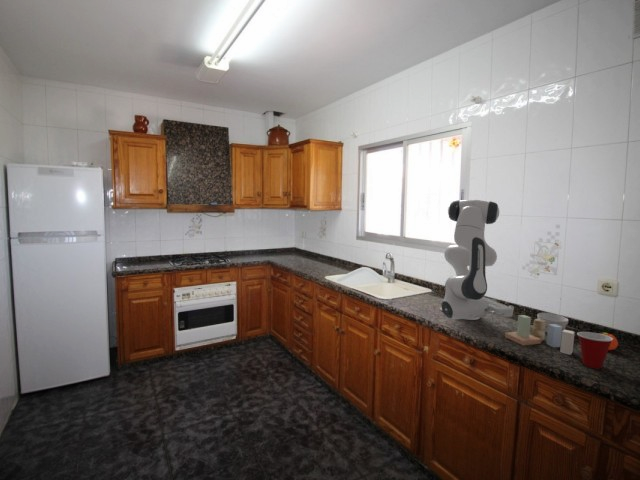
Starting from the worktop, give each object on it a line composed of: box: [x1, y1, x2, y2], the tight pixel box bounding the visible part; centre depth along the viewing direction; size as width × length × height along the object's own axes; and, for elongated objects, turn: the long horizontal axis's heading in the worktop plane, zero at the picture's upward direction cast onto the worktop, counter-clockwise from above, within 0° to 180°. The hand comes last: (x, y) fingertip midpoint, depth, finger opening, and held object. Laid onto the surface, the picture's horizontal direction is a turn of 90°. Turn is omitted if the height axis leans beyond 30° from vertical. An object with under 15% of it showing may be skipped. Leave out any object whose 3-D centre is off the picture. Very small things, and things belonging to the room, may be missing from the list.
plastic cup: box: [576, 331, 613, 370], centre depth 131 cm, size 11×11×12 cm
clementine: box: [598, 332, 619, 351], centre depth 147 cm, size 8×7×7 cm
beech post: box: [532, 318, 546, 342], centre depth 156 cm, size 4×4×9 cm
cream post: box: [559, 328, 575, 356], centre depth 142 cm, size 4×4×9 cm
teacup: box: [537, 312, 569, 334], centre depth 166 cm, size 15×12×8 cm
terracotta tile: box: [504, 331, 542, 346], centre depth 155 cm, size 10×10×2 cm
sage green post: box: [516, 314, 532, 338], centre depth 154 cm, size 4×4×9 cm
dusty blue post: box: [546, 324, 562, 348], centre depth 149 cm, size 4×4×9 cm
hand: (503, 304), depth 150 cm, fingers open, 8 cm apart
